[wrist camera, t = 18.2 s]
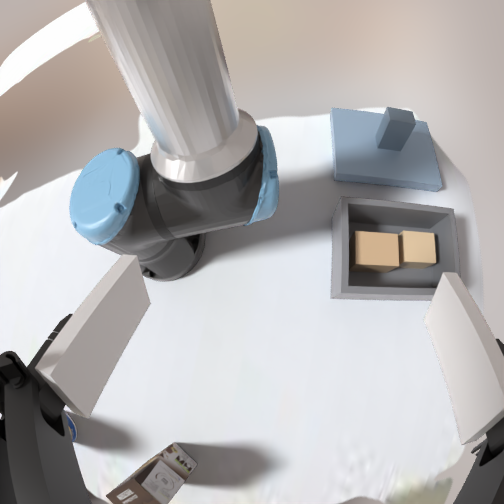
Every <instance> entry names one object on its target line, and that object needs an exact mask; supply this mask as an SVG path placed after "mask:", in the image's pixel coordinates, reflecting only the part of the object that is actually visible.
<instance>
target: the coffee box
mask: <svg viewBox="0 0 504 504" xmlns="http://www.w3.org/2000/svg"><path fill="white" fill-rule="evenodd" d="M196 466H197V463H196V462H195V461H194V460H193V459H192V458H191V457H190V456H189V455H187V454H186V453H185V452H184V451H183V450H182V449H181V448H180V447H179V446H178V445H177V444H176V443H172V444H171V445H169V446H168V447H167V448H165V449H164V450H163V451H161V452H160V453H158V454H157V455H155V456H154V457H153V458H151V459H150V460H148V461H147V462H146V463H145V464H143V465H142V466H141V467H140V468H139V469H138V470H137V471H135V472H134V473H133V474H132V475H131V476H130V477H128V478H127V479H126V480H125V481H124V482H122V483H121V484H120V485H119V486H117V487H116V488H115V489H114V490H112V491H111V492H110V493H109V494H107V495H106V497H107V498H108V499H109V500H110V501H111V502H112V503H113V504H168V503H169V502H170V500H171V499H172V498H173V497H174V495H175V494H176V493H177V491H178V490H179V489H180V487H181V486H182V485H183V483H184V482H185V481H186V479H187V478H188V476H189V475H190V474H191V472H192V471H193V470H194V468H195V467H196Z"/></svg>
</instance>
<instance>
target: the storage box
mask: <svg viewBox="0 0 504 504" xmlns="http://www.w3.org/2000/svg"><path fill="white" fill-rule="evenodd" d="M443 272H454V273H457V274H458V276H459V277H460V263H459V250H458V239H457V230H456V223H455V215H454V209H451V208H444V207H437V206H429V205H421V204H413V203H404V202H395V201H386V200H375V199H364V198H353V197H341V198H340V200H339V203H338V205H337V208H336V210H335V212H334V215H333V217H332V275H331V299H360V300H418V301H432V299H433V297H434V294H435V292H436V289H437V287H438V284H439V282H440V279H441V276H442V274H443Z"/></svg>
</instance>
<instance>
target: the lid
mask: <svg viewBox="0 0 504 504" xmlns="http://www.w3.org/2000/svg"><path fill="white" fill-rule="evenodd" d="M330 122H331V134H332V147H333V164H334V181H347V182H358V183H369V184H379V185H388V186H396V187H404V188H412V189H420V190H427V191H433V192H437V191H438V190H439V189H440V188H441V187H442V182H441V177H440V172H439V168H438V163H437V159H436V155H435V151H434V147H433V143H432V139H431V136H430V132H429V129H428V126H427V123H426V122H423V121H418V120H415V119H414V115H413V112H411V111H406V110H401V109H396V108H390V107H387V108H386V111H385V113H384V114H380V113H373V112H366V111H358V110H349V109H339V108H331V113H330Z"/></svg>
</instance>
